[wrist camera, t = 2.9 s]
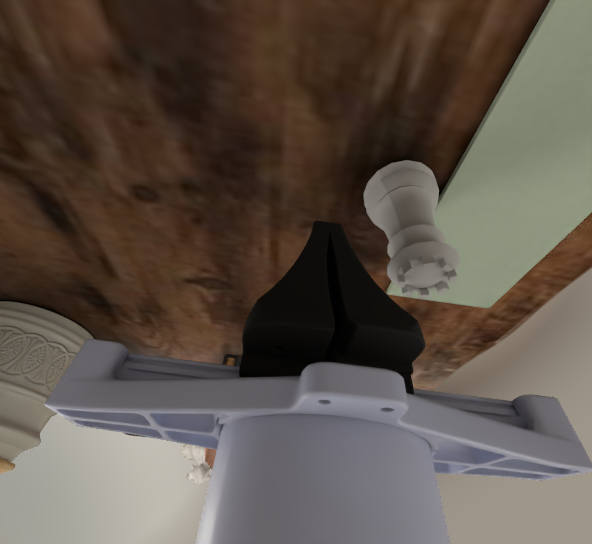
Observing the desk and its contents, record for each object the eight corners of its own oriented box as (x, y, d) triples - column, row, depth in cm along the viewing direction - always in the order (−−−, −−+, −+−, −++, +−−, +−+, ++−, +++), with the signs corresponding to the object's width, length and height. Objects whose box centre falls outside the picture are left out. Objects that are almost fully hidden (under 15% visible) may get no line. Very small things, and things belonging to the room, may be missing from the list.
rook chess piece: (348, 190, 19) (357, 280, 13) (409, 140, 16) (451, 227, 11) (388, 228, 21) (410, 320, 15) (448, 189, 18) (499, 283, 13)
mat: (487, 305, 26) (489, 308, 26) (385, 291, 26) (386, 294, 26) (788, 17, 12) (799, 18, 11) (562, -23, 11) (568, -23, 11)
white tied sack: (237, 426, 72) (226, 463, 61) (234, 452, 73) (223, 493, 62) (190, 420, 71) (170, 457, 60) (187, 447, 73) (168, 487, 61)
